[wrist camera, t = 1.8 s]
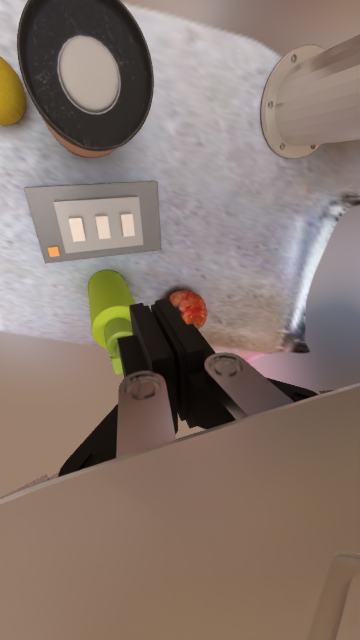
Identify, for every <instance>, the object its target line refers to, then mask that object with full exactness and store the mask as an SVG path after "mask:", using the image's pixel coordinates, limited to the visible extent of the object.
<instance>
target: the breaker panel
mask: <svg viewBox="0 0 360 640" xmlns="http://www.w3.org/2000/svg"><path fill="white" fill-rule="evenodd" d="M24 191H25V194H26V198H27V201H28V205H29V208H30V212H31V215H32V219H33V222H34V226H35V230H36V233H37V237H38V240H39V244H40V247H41V251H42V254H43V258H44V261H45V263H52V262H61V261H69V260H78V259H87V258H95V257H104V256H112V255H121V254H130V253H138V252H147V251H155V250H162V249H161V233H160V217H159V201H158V185H157V182H156V181H145V182H124V183H103V184H82V185H61V186H39V187H25V188H24Z"/></svg>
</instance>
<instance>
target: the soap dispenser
mask: <svg viewBox="0 0 360 640" xmlns="http://www.w3.org/2000/svg"><path fill="white" fill-rule="evenodd" d="M88 295H89V305H90V316H91V327H92V334H93V337H94V339H95V341H96V342H97V343H98V344H99V345H101V346H102V347H104V348H106V349H107V351H108V353H109V354H110V355H112V356H111V362H112V365H113V368H114V372H115V374H116V375H117V374H122V373H123V369H122V364H121V359H120V354H119V348H118V342H117V338H121V337H126V336H131V335H133V332H132V325H131V318H130V310H129V305H133V304H135V302H134V300H133V297H132V295H131V293H130V291H129V288H128V286H127V284H126V281H125V279H124V278H123V277H122V276H121V275H120V274H119V273H117V272H115V271H112V270H103V271H100V272H97V273H96V274H94V275H93V276H92V278H91V279H90V281H89V283H88Z"/></svg>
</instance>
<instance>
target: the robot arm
mask: <svg viewBox="0 0 360 640" xmlns="http://www.w3.org/2000/svg"><path fill="white" fill-rule="evenodd" d="M261 121H262V128H263V132H264V135H265V138H266V140H267V142H268V144H269V146H270V147H271V148H272V149H273V151H274V152H276V153H277V154H278V155H280V156H282V157H285V158H291V159H293V158H301V157H304V156H307V155H309V154H311V153H312V152H314V151H315V150H316V149H317V148H318V147H319V146H320V145H321V144H324V143H334V142H343V141H353V140H360V35H358V36H356V37H353V38H352V39H349V40H347V41H345V42H343V43H341V44H339V45H337V46H335V47H333V48H330V49H328V50H325V49H324V48H322V47H321V46H317V45H314V44H313V45H304V46H301V47H299V48H296V49H295V50H293V51H291V52H289V53H288V54H287V55H286V56H284V57H283V58H282V59H281V60H280V62H279V63H278V64H277V65H276V66H275V68H274V70H273V72H272V73H271V75H270V77H269V79H268V82H267V84H266V87H265V90H264V94H263V99H262V106H261ZM129 310H130V318H131V325H132V332H133V335H131V336H126V337H121V338H117V342H118V348H119V354H120V359H121V364H122V369H123V374H124V379H123V381H122V382H121V383H120V386H119V393H118V395H119V396H118V404H117V405H116V406H115V408H114V409H113V410H112V411H111V412H110V413H109V414H108V415H107V416H106V417H105V418H104V419H103V421H102V422H101V423H100V424H99V425H98V426H97V427H96V428H95V430H94V431H93V432H92V433H91V434H90V435H89V436H88V437H87V438H86V440H85V441H84V442H83V443H82V444H81V445H80V446H79V447H78V448H77V449H76V451H75V452H74V453H73V454H72V455H71V456H70V457H69V458H68V459H67V461H66V462H65V463H64V465H63V466H62V468H61V469H60V472H59V473H57V474H55V475H53V476H51V477H49V478H48V476H47V475H44V476H42V477H40V478H38V479H36V480H34V481H32V482H30V483H28V484H26V485H24V486H22V487H20V488H18V489H17V490H14V491H13V492H11V493H9V494H7V495H5V496H3V497H1V498H0V640H360V383H358V384H355V385H352V386H348V387H345V388H341V389H337V390H324V391H318V394H317V393H315V392H313V391H311V390H308V389H305V388H301V387H297V386H294V385H291V384H287V383H283V382H280V381H276V380H272V379H269V378H266V377H264V376H263V375H262V374H260V373H259V372H258V371H257V370H256V369H255V368H253V367H252V366H251V365H250V364H249V363H248V362H246V361H245V360H244V359H243V358H241V357H240V356H238V355H235V354H233V353H227V352H224V353H215V352H214V350H213V349H212V348H211V346H210V345H209V344H208V342H207V341H206V340H205V338H204V337H203V336H202V335H201V333H200V332H199V331H198V329H197V328H196V327H195V325H194V324H186V322H185V321H184V320H183V318H182V317H181V315H180V314H179V313H178V311H177V310H176V308H175V307H174V306H173V304H172V303H171V301H170V300H169V299H163V300H157V301H155V304H153V305H151V310H150V308H149V307H148V305H147V306H144V305H143V303H139V304H133V305H129ZM177 412H178V414H177ZM178 415H179V417H180V419H181V421H184V420H186V422H187V424H188V426H189V428H193V427H195V426H199V427H201V428H203V431H200V432H197V433H194V434H191V435H188V436H185V437H181V438H178V439H176V436H175V435H176V433H177V431H178Z"/></svg>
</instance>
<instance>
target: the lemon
mask: <svg viewBox="0 0 360 640" xmlns="http://www.w3.org/2000/svg"><path fill="white" fill-rule="evenodd" d="M25 107H26V97H25V92H24V88H23V85H22V83H21V81H20V79H19V77H18V75H17V74H16V72H15V71H14V70H13V68H12V67H11V66H10V65H9V64H8V63H7V62H6V61H5V60H4V59H3V58H2V57H0V125H1V126H7V125H12V124H14V123H16V122H17V121H18V120H19V119H20V118H21V117H22V116H23V114H24V111H25Z"/></svg>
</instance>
